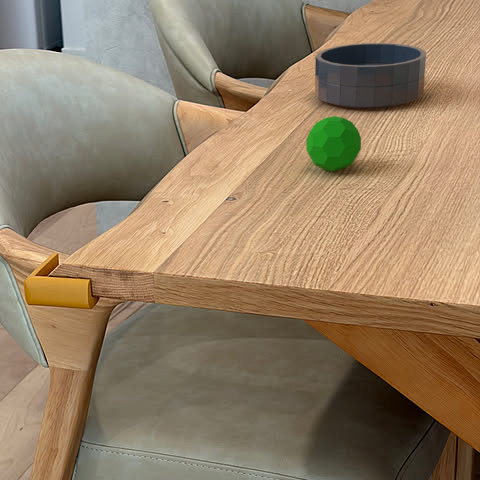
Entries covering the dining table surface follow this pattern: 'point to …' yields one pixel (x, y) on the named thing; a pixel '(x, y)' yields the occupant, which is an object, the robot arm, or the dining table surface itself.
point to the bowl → (370, 75)
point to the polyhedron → (333, 143)
